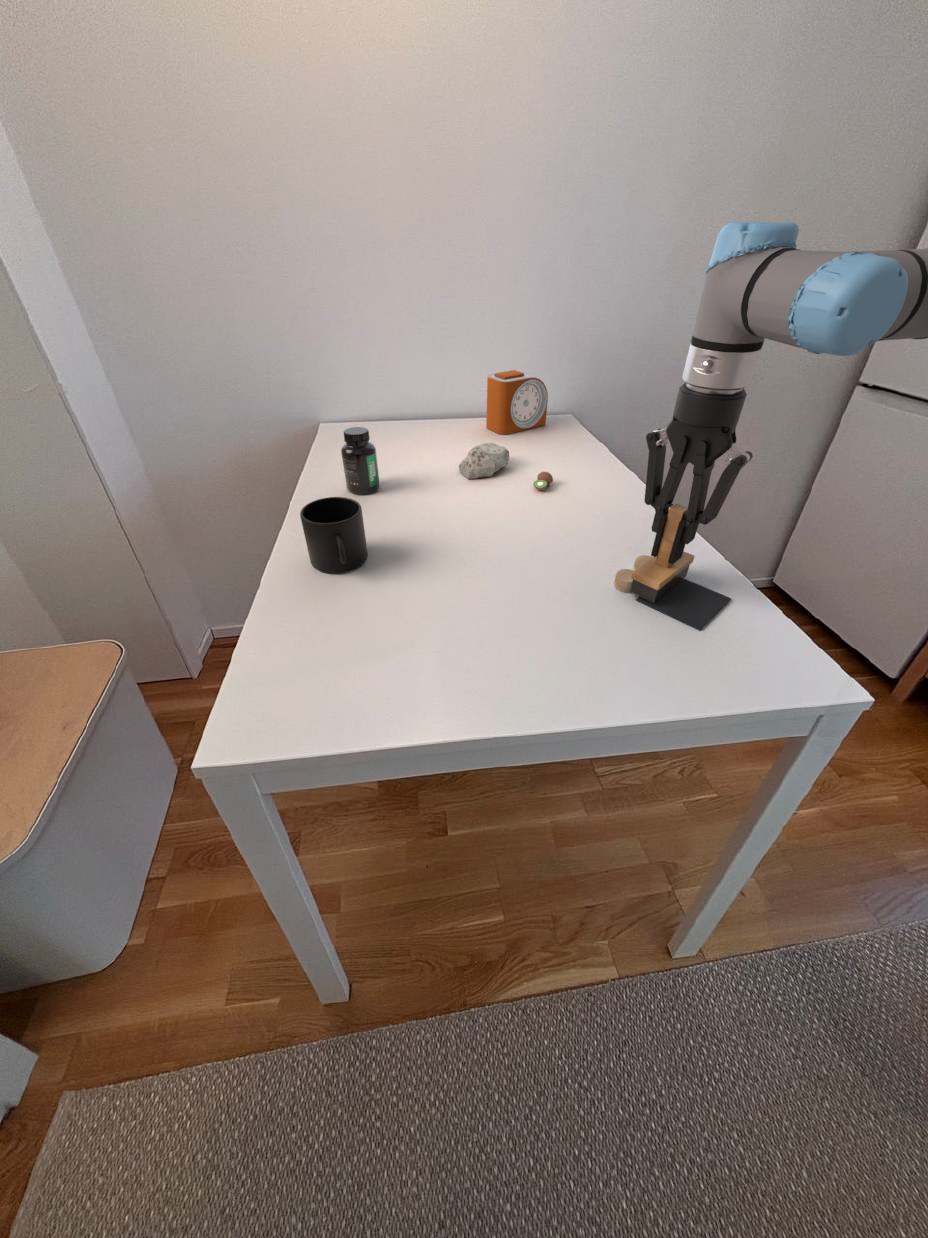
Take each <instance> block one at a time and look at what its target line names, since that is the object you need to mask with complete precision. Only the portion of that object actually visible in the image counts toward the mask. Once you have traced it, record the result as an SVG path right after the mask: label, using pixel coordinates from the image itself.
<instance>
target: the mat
mask: <svg viewBox="0 0 928 1238" xmlns="http://www.w3.org/2000/svg"><path fill="white" fill-rule="evenodd" d="M731 600H732V597H729V596H727V595H725V594H722V593H720V592H718V591H715V590H712V589H710V588H708V587H706V586H703V585H701V584H698V583H696V582H693V581H691V580H688V579H687V578H683V579H682V580H681V581H680V582H679V583H677V584H676V585H675V586H674V587H673V588H671V589H670V590H669V591H668V592H667V593H666V594H664V595H663V596H662V597H661V598H660V599H658V600H657V601H656V602H655V603H652V602H650V601H648V600H646V599H644V598H642V597H639V596H637V597H636V598H635V602H638V603H640V604H642V605H645V606H647V607H649V608H651V609H653V610H655V611H658V612H659V613H661V614H663V615H665V616H668V617H670V618H671V619H674V620H676V621H678V622H680V623H683V624H685V625H687V626H689V627H691V628H693V629H695V630H698V631H701V630H702V629H703V628H704V627H706V625H707V624H708V623H709V622H711V620H713V619H714V618H715V616H717V614H718V613H719V612H721V610H723V608H724V607H726V606H727V605H728V603H729V602H731Z"/></svg>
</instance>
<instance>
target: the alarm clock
mask: <svg viewBox="0 0 928 1238" xmlns="http://www.w3.org/2000/svg"><path fill="white" fill-rule="evenodd" d="M486 385H487V386H486V419H485V420H486V423H485V424H486V425H485V428H486V429H487V430H489V431H490V432H493V433H495V434H498V435H510V434H514V433H519V432H522V431H526V430H530V429H534V428H535V429H536V428H539V427H543V426H546V422H547V414H548V413H547V412H548V401H549V398H548V397H549V395H548V389H547V386H546V385H545V382H544V381H542V380H541V379H540V378H538V377H536V376H533V375H529V374H526V373H525V372H521V371H519V370H516V369H513V370H512V369H511V370H506V371H500V372H496V373H493V374H489V375H487V379H486Z"/></svg>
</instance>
